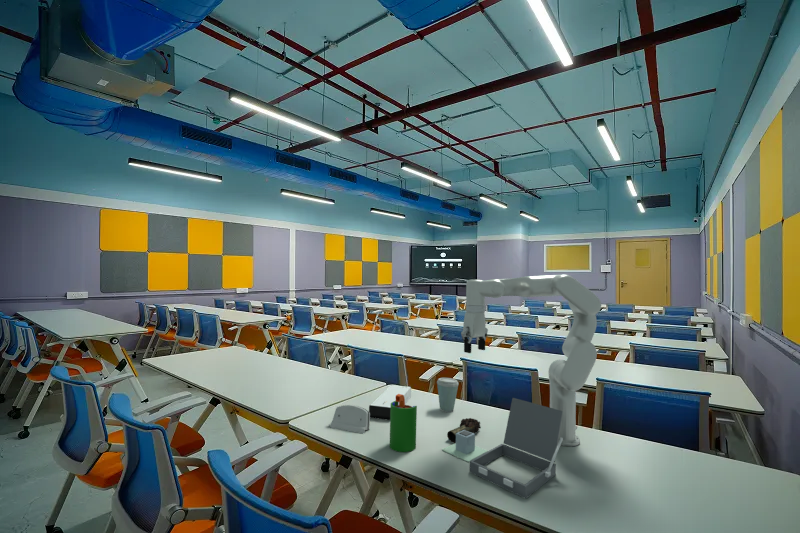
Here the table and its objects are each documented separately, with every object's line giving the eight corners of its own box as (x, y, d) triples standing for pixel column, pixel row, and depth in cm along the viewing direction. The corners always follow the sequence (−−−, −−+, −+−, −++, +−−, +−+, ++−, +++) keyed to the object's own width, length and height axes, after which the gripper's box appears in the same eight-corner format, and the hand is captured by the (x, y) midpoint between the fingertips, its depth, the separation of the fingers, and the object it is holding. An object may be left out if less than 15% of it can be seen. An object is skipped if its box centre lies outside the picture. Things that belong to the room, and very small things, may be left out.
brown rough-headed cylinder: (456, 444, 144) (456, 430, 144) (443, 439, 149) (443, 425, 149) (483, 432, 156) (482, 418, 156) (469, 427, 161) (469, 414, 161)
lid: (503, 443, 137) (504, 443, 137) (553, 462, 123) (554, 462, 124) (512, 397, 141) (513, 397, 142) (562, 411, 128) (563, 411, 128)
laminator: (392, 422, 166) (392, 407, 166) (366, 418, 169) (366, 404, 169) (410, 398, 199) (410, 386, 199) (388, 396, 202) (388, 384, 202)
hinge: (329, 427, 158) (333, 402, 161) (334, 427, 162) (338, 403, 165) (364, 433, 152) (368, 407, 155) (369, 433, 156) (373, 408, 159)
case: (506, 450, 139) (506, 419, 140) (563, 472, 124) (563, 437, 124) (468, 472, 123) (468, 437, 123) (528, 501, 108) (528, 460, 108)
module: (463, 445, 142) (464, 429, 142) (474, 450, 138) (474, 433, 138) (455, 449, 138) (455, 432, 138) (466, 454, 135) (466, 436, 135)
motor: (419, 444, 143) (419, 392, 143) (409, 454, 135) (410, 398, 135) (395, 439, 147) (396, 388, 148) (384, 448, 139) (385, 394, 139)
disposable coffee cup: (443, 404, 189) (443, 374, 189) (462, 409, 182) (462, 378, 183) (432, 410, 180) (432, 379, 180) (452, 415, 174) (452, 383, 174)
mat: (461, 441, 147) (461, 440, 147) (487, 451, 138) (487, 450, 138) (442, 450, 138) (442, 449, 138) (468, 462, 130) (468, 461, 130)
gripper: (479, 308, 162) (479, 347, 162) (455, 309, 150) (454, 352, 150) (494, 309, 157) (494, 350, 156) (470, 311, 145) (469, 355, 144)
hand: (474, 351), depth 153 cm, fingers open, 9 cm apart
